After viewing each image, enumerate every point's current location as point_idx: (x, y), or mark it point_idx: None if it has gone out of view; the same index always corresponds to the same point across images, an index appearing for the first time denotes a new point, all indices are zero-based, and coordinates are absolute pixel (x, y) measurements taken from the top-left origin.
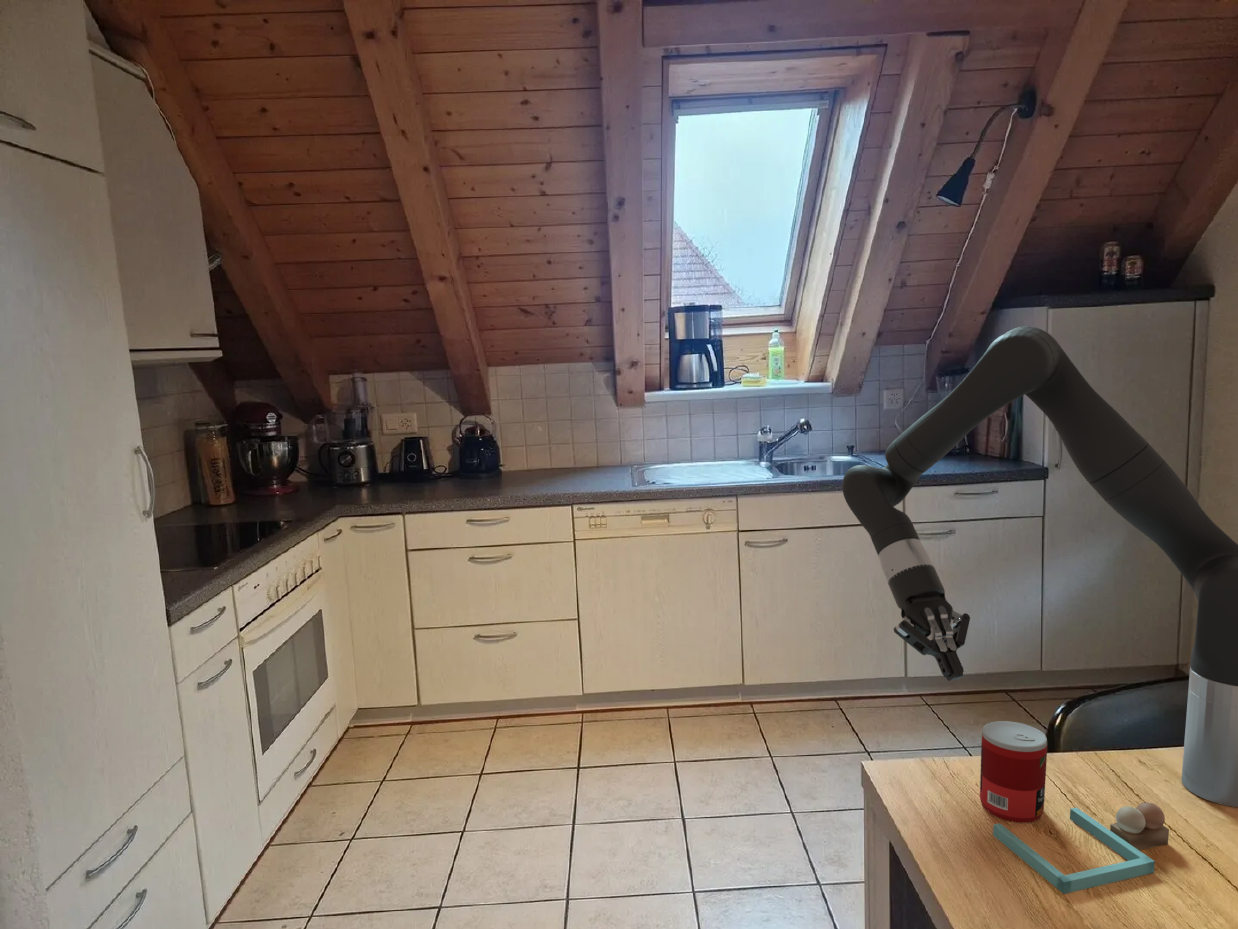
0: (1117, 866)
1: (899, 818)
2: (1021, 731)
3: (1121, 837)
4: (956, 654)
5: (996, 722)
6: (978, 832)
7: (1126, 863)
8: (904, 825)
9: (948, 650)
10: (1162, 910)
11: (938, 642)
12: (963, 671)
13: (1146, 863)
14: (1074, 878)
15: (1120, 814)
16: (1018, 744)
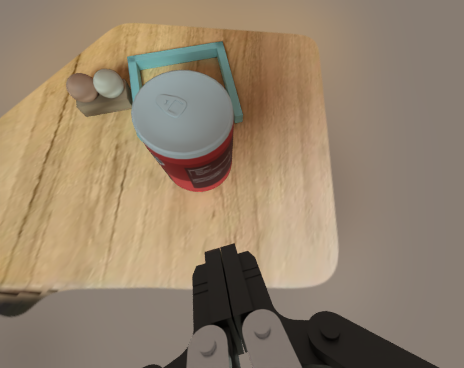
0: (164, 53)
1: (327, 155)
2: (161, 125)
3: (128, 91)
4: (196, 325)
5: (190, 150)
6: (254, 127)
7: (154, 55)
8: (325, 144)
9: (229, 338)
10: (159, 31)
11: (287, 357)
12: (196, 266)
13: (136, 55)
14: (211, 44)
15: (116, 78)
16: (191, 88)
